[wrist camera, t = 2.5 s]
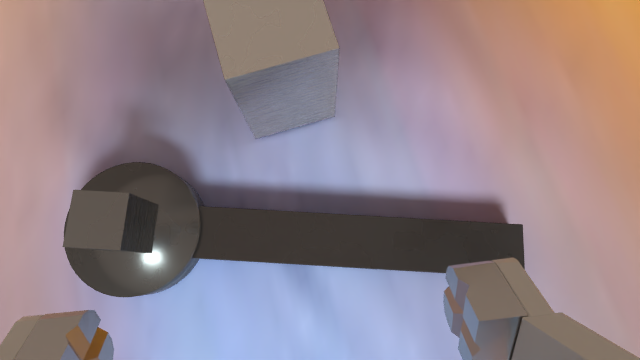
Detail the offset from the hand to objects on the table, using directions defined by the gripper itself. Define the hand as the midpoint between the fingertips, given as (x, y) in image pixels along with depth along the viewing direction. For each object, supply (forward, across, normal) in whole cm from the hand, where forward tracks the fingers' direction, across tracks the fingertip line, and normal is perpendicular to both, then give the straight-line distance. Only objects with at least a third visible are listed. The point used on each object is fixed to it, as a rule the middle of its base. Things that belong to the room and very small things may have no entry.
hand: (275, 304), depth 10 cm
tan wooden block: (+18, 0, +2) cm, 18 cm away
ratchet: (+12, 0, +8) cm, 14 cm away
